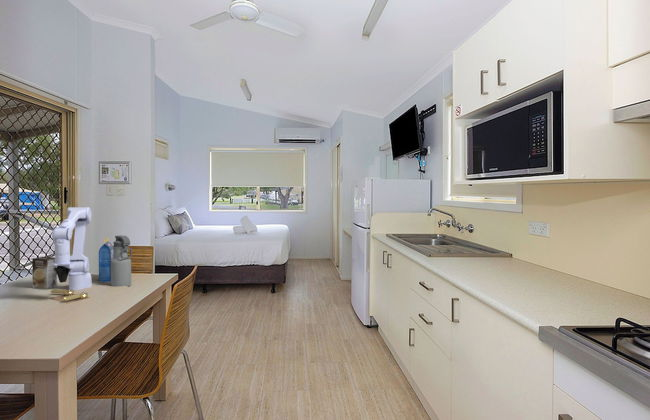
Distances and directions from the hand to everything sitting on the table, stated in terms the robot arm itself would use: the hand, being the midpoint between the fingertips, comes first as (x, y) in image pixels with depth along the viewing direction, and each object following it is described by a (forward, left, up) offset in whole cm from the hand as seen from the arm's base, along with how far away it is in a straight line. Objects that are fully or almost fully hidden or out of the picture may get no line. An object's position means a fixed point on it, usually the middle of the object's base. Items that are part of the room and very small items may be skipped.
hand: (62, 282), depth 164 cm
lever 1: (-4, -8, -8) cm, 11 cm away
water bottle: (-30, -2, -9) cm, 31 cm away
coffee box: (-10, -36, -10) cm, 38 cm away
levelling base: (-2, +1, -9) cm, 9 cm away
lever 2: (-2, +6, -8) cm, 10 cm away
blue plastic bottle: (-36, -24, -10) cm, 44 cm away
